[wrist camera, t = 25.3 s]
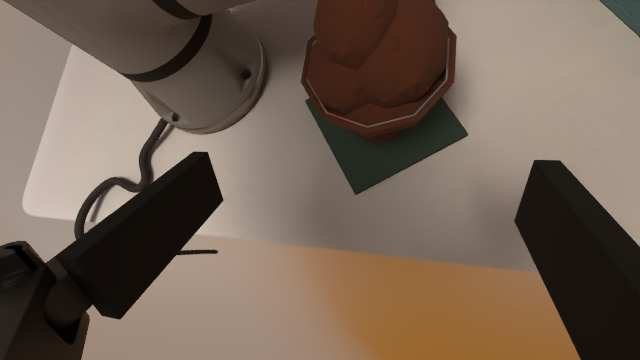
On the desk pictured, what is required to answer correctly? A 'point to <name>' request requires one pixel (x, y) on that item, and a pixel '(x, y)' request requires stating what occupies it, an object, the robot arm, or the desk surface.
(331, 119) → the ice cream bowl
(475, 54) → the desk surface
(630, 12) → the divided tray
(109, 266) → the robot arm
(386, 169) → the mat
